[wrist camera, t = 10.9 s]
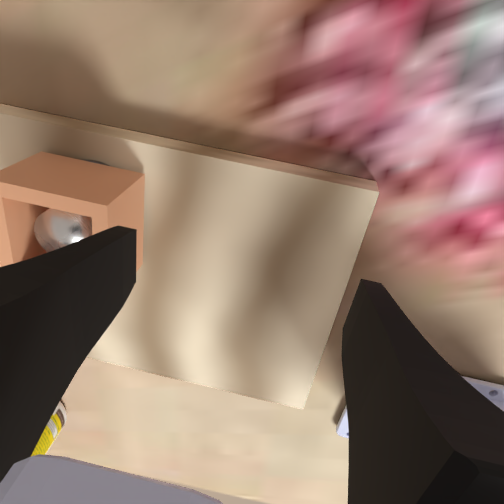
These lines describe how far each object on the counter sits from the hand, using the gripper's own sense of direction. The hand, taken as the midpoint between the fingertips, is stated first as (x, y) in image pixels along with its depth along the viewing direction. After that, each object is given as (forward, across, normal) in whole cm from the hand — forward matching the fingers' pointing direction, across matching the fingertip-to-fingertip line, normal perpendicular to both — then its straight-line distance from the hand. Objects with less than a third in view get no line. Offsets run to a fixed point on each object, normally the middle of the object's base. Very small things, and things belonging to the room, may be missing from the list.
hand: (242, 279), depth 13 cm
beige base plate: (+9, +5, +7) cm, 13 cm away
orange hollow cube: (+8, +9, +3) cm, 12 cm away
